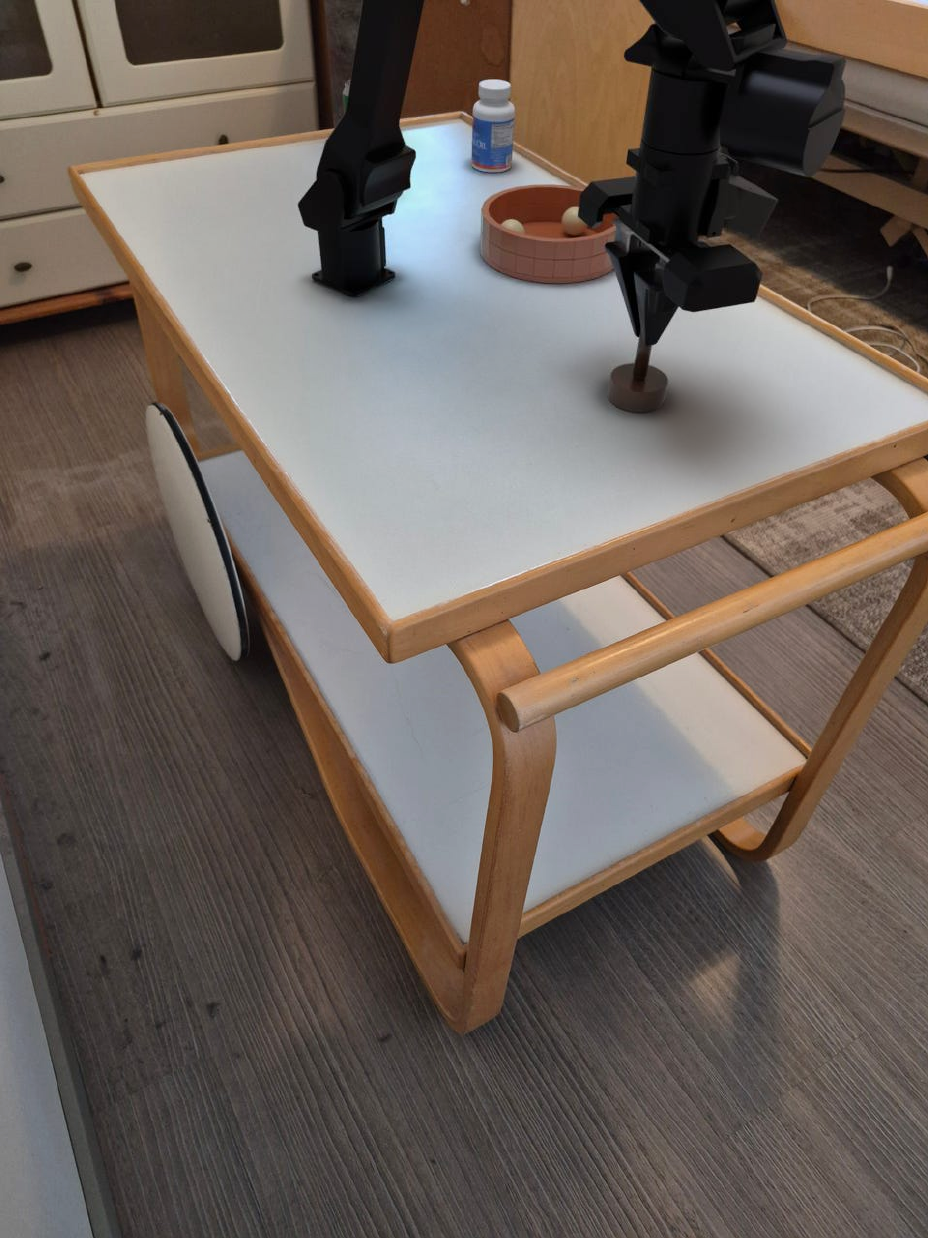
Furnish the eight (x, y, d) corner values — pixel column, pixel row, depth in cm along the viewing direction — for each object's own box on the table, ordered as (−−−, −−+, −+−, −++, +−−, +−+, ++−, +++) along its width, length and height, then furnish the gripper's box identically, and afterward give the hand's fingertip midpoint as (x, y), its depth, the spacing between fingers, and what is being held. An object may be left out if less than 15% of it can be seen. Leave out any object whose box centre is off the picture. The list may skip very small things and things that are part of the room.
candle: (329, 139, 126) (314, -36, 112) (379, 134, 128) (371, -39, 113) (343, 157, 121) (330, -23, 107) (396, 151, 123) (390, -27, 108)
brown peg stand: (645, 419, 78) (663, 321, 71) (596, 398, 80) (610, 301, 74) (674, 395, 81) (694, 299, 74) (627, 376, 83) (642, 281, 76)
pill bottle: (464, 161, 121) (465, 79, 114) (500, 156, 122) (503, 75, 115) (482, 175, 117) (484, 91, 110) (519, 170, 119) (523, 87, 112)
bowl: (566, 297, 94) (571, 254, 90) (452, 254, 100) (452, 212, 97) (646, 249, 102) (653, 209, 99) (535, 212, 109) (538, 173, 106)
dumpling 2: (576, 242, 102) (579, 214, 100) (555, 234, 103) (557, 207, 101) (591, 233, 103) (594, 207, 101) (570, 226, 105) (573, 200, 103)
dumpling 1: (512, 255, 99) (514, 228, 97) (491, 247, 100) (492, 220, 98) (529, 247, 101) (531, 219, 98) (507, 239, 102) (509, 212, 100)
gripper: (854, 174, 61) (790, 379, 72) (709, 93, 73) (674, 279, 84) (711, 193, 58) (668, 403, 69) (586, 105, 71) (566, 296, 82)
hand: (645, 340), depth 76 cm, fingers closed on brown peg stand
